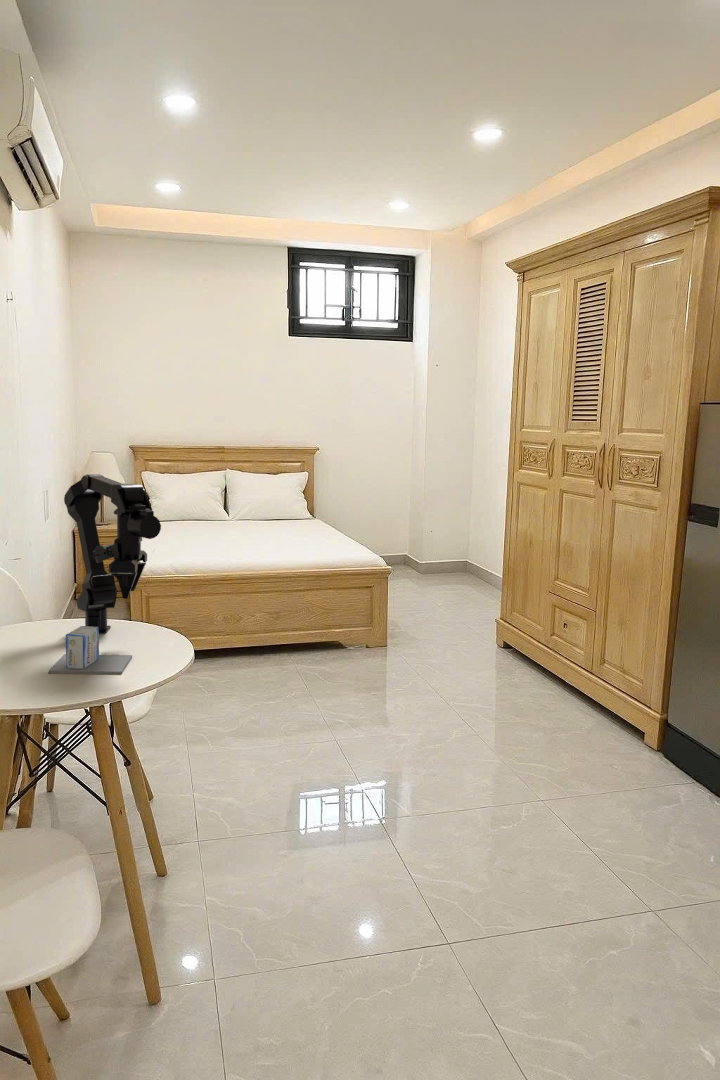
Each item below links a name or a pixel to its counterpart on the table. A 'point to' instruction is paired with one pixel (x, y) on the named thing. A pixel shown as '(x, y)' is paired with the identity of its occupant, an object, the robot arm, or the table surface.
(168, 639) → the table surface
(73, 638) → the medicine box
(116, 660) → the mat
